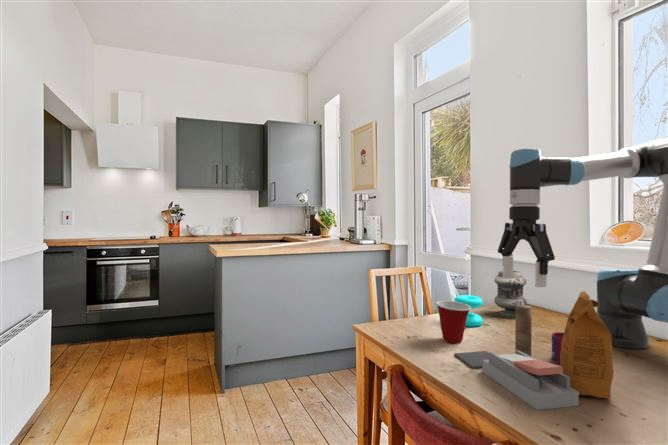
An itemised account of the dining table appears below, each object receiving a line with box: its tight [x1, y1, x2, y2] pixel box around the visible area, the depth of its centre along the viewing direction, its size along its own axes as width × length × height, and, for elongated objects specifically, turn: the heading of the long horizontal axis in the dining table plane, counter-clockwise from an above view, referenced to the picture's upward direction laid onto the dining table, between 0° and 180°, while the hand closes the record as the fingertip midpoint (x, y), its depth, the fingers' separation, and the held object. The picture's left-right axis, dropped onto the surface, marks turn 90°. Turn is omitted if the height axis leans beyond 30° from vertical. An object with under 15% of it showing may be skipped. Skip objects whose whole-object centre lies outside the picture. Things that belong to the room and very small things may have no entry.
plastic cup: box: [436, 300, 472, 344], centre depth 124 cm, size 11×11×12 cm
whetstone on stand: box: [482, 350, 580, 411], centre depth 90 cm, size 10×20×6 cm, turn 11°
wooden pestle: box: [514, 305, 533, 357], centre depth 107 cm, size 4×4×15 cm
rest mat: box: [453, 350, 489, 370], centre depth 107 cm, size 10×10×1 cm
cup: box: [551, 331, 564, 364], centre depth 106 cm, size 7×10×7 cm
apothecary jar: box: [493, 269, 528, 319], centre depth 155 cm, size 12×12×18 cm
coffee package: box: [559, 291, 615, 399], centre depth 89 cm, size 10×12×22 cm
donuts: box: [453, 294, 484, 328], centre depth 143 cm, size 10×10×10 cm
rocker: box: [497, 353, 563, 376], centre depth 90 cm, size 16×6×1 cm, turn 11°
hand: (523, 282), depth 107 cm, fingers open, 13 cm apart
